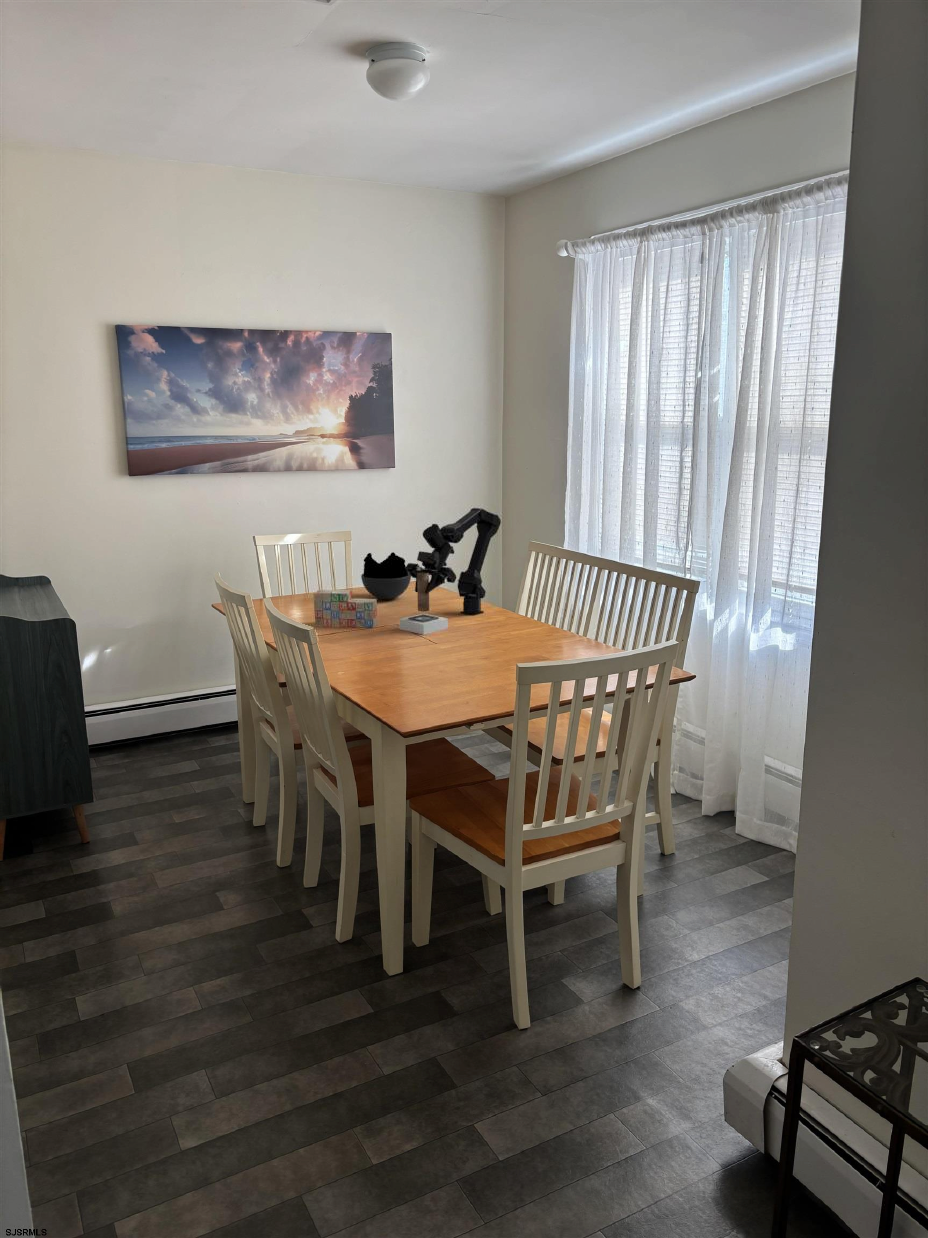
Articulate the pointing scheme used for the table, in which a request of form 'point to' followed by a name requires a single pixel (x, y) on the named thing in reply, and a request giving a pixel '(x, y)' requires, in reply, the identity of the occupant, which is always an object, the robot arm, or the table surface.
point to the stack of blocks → (343, 609)
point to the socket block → (423, 623)
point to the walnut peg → (422, 591)
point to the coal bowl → (385, 576)
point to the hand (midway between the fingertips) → (420, 592)
